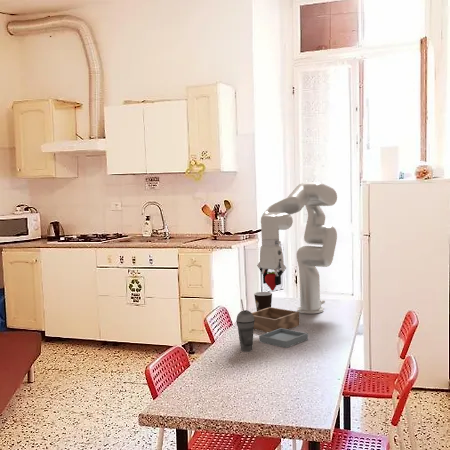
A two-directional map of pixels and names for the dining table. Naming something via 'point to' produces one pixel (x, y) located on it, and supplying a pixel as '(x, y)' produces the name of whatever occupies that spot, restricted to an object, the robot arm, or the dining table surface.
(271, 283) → the strawberry
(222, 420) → the dining table surface
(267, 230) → the robot arm
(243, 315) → the beverage cup
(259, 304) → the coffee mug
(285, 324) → the walnut bin
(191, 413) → the dining table surface
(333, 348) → the dining table surface
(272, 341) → the slate tray
